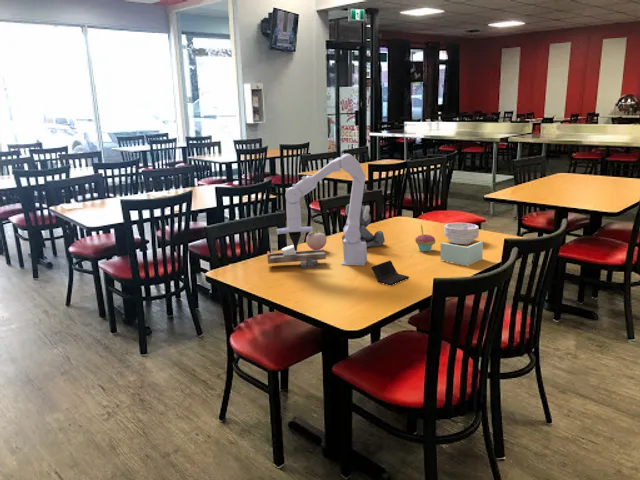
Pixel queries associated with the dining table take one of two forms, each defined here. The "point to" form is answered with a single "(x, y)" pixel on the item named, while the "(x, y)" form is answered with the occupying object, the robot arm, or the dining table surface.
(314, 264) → the fulcrum stand
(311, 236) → the decorative fruit
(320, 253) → the beam
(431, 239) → the cupcake
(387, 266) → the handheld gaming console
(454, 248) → the pale blue squat box
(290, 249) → the block
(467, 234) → the paper bowls
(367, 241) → the koala plush
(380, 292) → the dining table surface
